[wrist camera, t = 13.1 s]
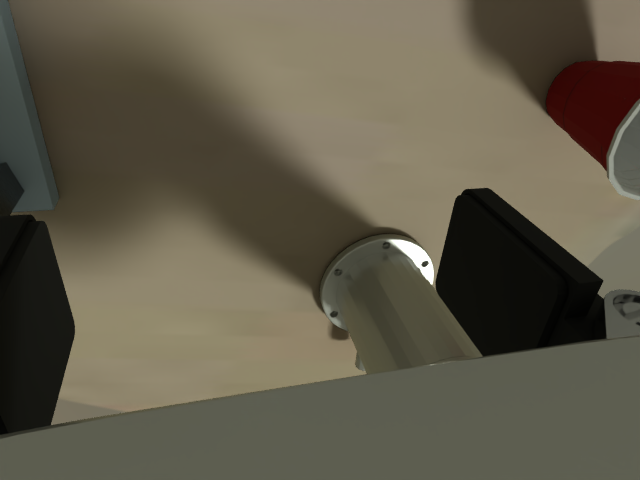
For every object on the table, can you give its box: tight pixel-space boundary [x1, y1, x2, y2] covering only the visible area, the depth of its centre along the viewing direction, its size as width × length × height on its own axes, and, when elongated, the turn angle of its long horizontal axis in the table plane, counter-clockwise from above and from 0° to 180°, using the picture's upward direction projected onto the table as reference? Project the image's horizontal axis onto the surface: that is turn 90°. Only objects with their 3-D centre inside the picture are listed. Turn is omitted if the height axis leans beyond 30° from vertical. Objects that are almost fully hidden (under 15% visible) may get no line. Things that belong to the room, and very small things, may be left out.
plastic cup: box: [546, 61, 640, 200], centre depth 39 cm, size 11×11×12 cm
